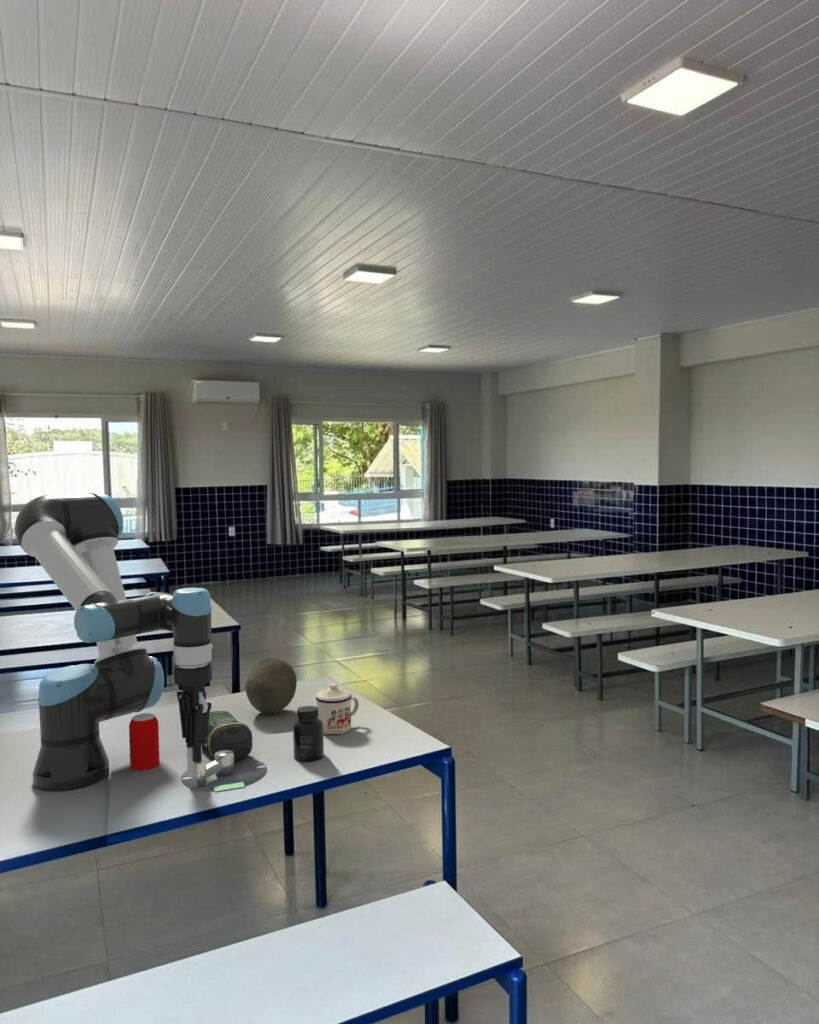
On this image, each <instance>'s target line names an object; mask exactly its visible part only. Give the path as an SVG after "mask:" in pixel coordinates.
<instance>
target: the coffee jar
mask: <svg viewBox="0 0 819 1024" xmlns="http://www.w3.org/2000/svg"><path fill="white" fill-rule="evenodd" d="M202 747H204V748H205V749H207V750H208V752H209V754H210V756H211V757H212V758H214V759H215V753H217V752H219V751H223V750H230V751H233V752H234V760H238V759H242V758H247V757H248V756H249V755H250V754H251V752H252V750H253V733H252V730H251V729H250V727H249V725H247V724H246V723H244V722H240V721H238V720H237V719H236V718H235V717H234V716H233V714H232V713H230V712H229V711H227V710H214V711H210V713H209V724H208V735H207V744H204V745H202Z"/></svg>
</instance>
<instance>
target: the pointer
mask: <svg viewBox="0 0 819 1024" xmlns="http://www.w3.org/2000/svg"><path fill="white" fill-rule="evenodd" d="M214 759H215V760H214V761H212V762H211V763H209V764H207V765H206V761H207V760H204V759H202V760H201V761H198V762H196V780H197V785H205V784H206V783H207V777H209V776H211V775H213V774H216V775H219V776H225V775H230V774H232V773H233V772H234V752H233V751H230V750H223V751H219V752H217V753H215V758H214Z"/></svg>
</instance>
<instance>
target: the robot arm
mask: <svg viewBox="0 0 819 1024" xmlns="http://www.w3.org/2000/svg"><path fill="white" fill-rule="evenodd" d="M123 524H124V516H123V513H122V510H121V508H120V506H119V504H118V502H117V501H116V500H115V499H114V498H113V497H111V496H109V495H108V494H104V493H94V492H87V493H77V494H75V493H74V494H73V493H71V494H70V493H69V494H44V495H40V496H38V497H35V498H33V499H31V500H30V501H29V502H27V503H26V504H25V505H24V506H23V507H21V509H20V511H19V512H18V514H17V516H16V519H15V522H14V535H15V538H16V541H17V543H18V545H19V546H20V548H22V550H23V551H24V553H25V554H27V555H28V556H30V557H35V559H36V560H37V562H38V563H39V565H40V566H41V567H42V568H43V569H44V571H45V572H46V573H47V575H48V576H49V578H50V579H51V580H52V582H54V584H55V586H56V587H57V588H58V590H59V591H60V592H61V593H62V594H63V596H64V597H65V598H66V600H67V602H69V604H70V605H71V606H72V607H73V609H74V610H75V613H74V618H73V627H74V630H75V631H76V636H77V637H78V639H79V640H80V641H82V642H83V643H86V644H91V643H96V646H97V650H98V656H97V658H96V660H95V661H94V663H93V664H92V663H80V664H76V665H73V664H71V665H67V666H65V667H61V668H58V669H55V670H53V671H51V672H49V673H47V674H46V675H44V677H43V678H42V679H41V681H40V682H39V685H38V686H39V687H38V696H37V697H38V698H37V703H38V711H39V729H40V730H39V733H40V748H39V751H38V755H37V758H36V761H35V765H34V768H33V771H32V783H33V786H34V787H36V788H37V789H40V790H44V791H65V790H66V791H67V790H73V789H78V788H82V787H85V786H88V785H92V784H94V783H97V782H99V781H100V780H102V779H104V778H106V776H107V775H108V774H109V773H110V761H109V760H110V759H109V757H108V754H107V752H106V749H105V746H104V745H103V742H102V739H101V736H100V723H101V722H104V721H108V720H111V719H116V718H120V717H122V716H127V715H130V714H133V713H140V712H141V711H143V710H147V709H150V708H152V707H154V706H156V704H157V703H158V702H159V700H161V697H162V694H163V691H164V687H165V675H164V674H165V673H164V668H163V666H162V664H161V662H160V661H159V659H158V658H156V657H155V656H150V655H148V652H147V648H146V647H145V646H143V645H142V644H139V643H138V639H137V636H136V635H141V634H146V633H147V634H148V633H152V632H156V631H157V632H159V631H162V630H163V631H168V632H172V633H173V637H172V638H173V647H172V648H173V650H172V651H173V654H172V655H173V663H174V664H175V666H174V667H173V679H174V680H173V681H174V684H175V685H177V686H178V687H179V686H180V687H181V690H177V691H176V698H177V700H178V701H177V702H178V706H179V708H178V709H179V719H180V726H181V737H182V739H185V744H186V757H187V758H186V759H187V760H186V761H187V765H186V766H187V767H186V768H187V769H186V770H188V776H189V777H194V776H196V762H198V761H201V760H203V746H202V745H204V744H207V735H208V724H209V713H210V712H211V711H212V703H211V702H210V701H209V702H207V701H206V700H207V692H206V690H205V689H206V688H205V686H206V685H207V684H209V683H210V682H211V681H212V679H213V665H212V663H211V661H212V650H213V648H214V645H213V644H212V611H213V610H212V609H213V608H212V605H211V593H210V591H209V590H208V589H206V588H202V587H184V588H179V589H176V590H175V591H173V593H172V594H170V593H168V592H165V591H158V592H157V591H151V592H148V593H146V594H144V595H143V596H140V597H134V598H127V597H126V593H125V588H124V585H123V581H122V577H121V573H120V569H119V566H118V562H117V558H116V554H115V548H116V546H117V545H118V544H119V537H120V536H121V535H122V533H123V529H124V526H123Z"/></svg>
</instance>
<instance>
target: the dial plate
mask: <svg viewBox="0 0 819 1024" xmlns="http://www.w3.org/2000/svg"><path fill="white" fill-rule="evenodd" d="M214 760H215V758H214V759H209V760H205V761H206V765H207V764H209V763H211V762H212V761H214ZM267 773H268V767H267V765H266V764H265V763H264V762H262V761H260V760H259V759H255V758H251V757H250V758H249V757H245V758H242V759H238V760H234V772H233V773H232V774H230V775H225V776H219V775H216V774H213V775H211V776H209V777H207V783H206V784H205V785H197V780H196V776H194V777H189V776H188V770H187V769H186V770H185V771H184V772H183V773H182V775H181V778H180V781H181V783H182V784H183V786H185V787H186V788H188V789H191V790H195V791H200V792H215V793H217V792H227V791H233V790H238V789H243V788H245V787H248V786H250V785H252V784H253V785H254V784H255V783H257V782H258V781H260V780H262V779H263V778H264V777H265V776H266V775H267Z"/></svg>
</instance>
